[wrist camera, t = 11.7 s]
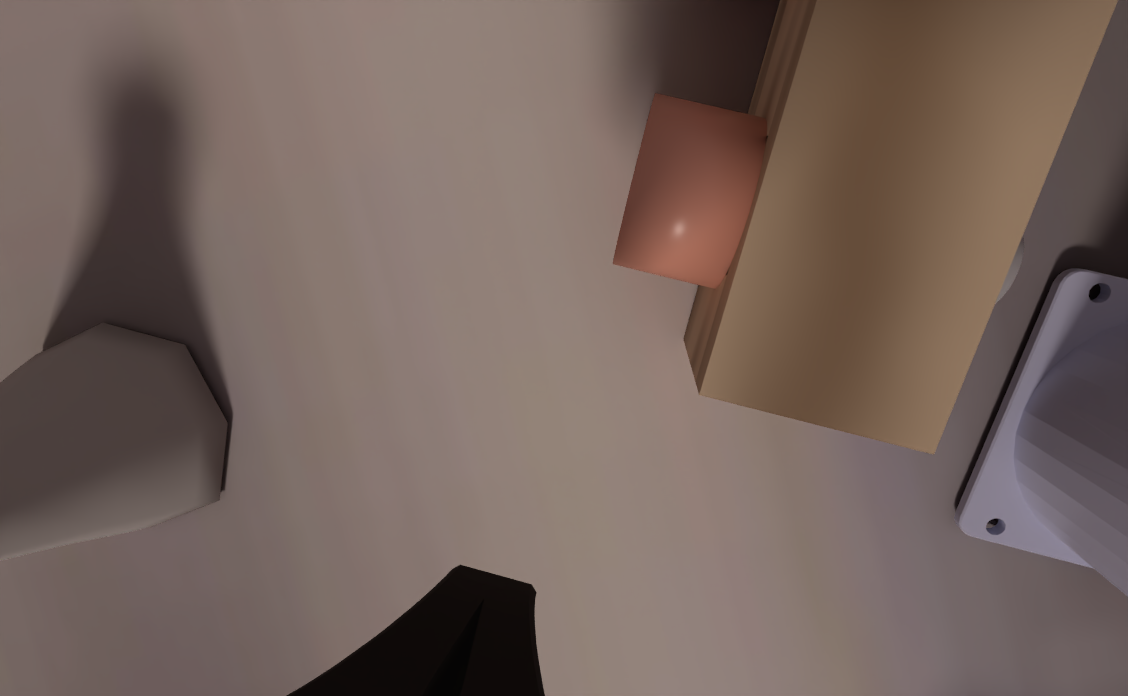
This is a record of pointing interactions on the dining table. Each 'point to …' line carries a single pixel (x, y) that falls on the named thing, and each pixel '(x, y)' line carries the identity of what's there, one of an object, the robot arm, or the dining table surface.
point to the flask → (104, 440)
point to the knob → (698, 192)
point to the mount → (888, 204)
